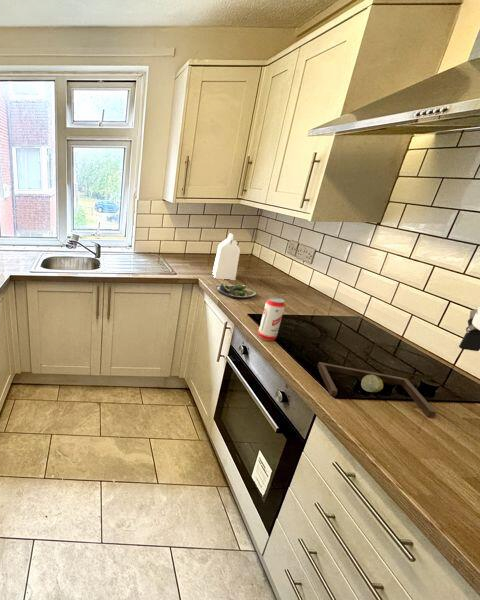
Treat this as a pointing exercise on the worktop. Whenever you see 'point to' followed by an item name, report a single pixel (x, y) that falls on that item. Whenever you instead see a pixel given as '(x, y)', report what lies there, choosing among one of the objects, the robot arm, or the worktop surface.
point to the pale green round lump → (372, 383)
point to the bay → (385, 378)
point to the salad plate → (235, 291)
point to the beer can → (271, 318)
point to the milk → (226, 259)
